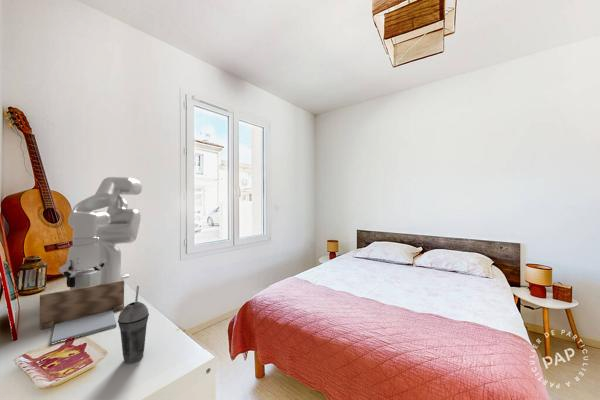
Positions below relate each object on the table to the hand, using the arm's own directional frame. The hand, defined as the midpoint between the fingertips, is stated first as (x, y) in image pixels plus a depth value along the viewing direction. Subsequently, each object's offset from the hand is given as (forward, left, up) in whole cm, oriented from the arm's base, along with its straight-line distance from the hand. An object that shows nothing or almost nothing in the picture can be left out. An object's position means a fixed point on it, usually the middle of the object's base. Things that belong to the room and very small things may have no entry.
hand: (84, 283), depth 100 cm
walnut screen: (+5, +8, -10) cm, 14 cm away
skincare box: (-1, 0, -11) cm, 10 cm away
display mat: (+12, +17, -10) cm, 23 cm away
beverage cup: (+22, +49, -10) cm, 54 cm away
